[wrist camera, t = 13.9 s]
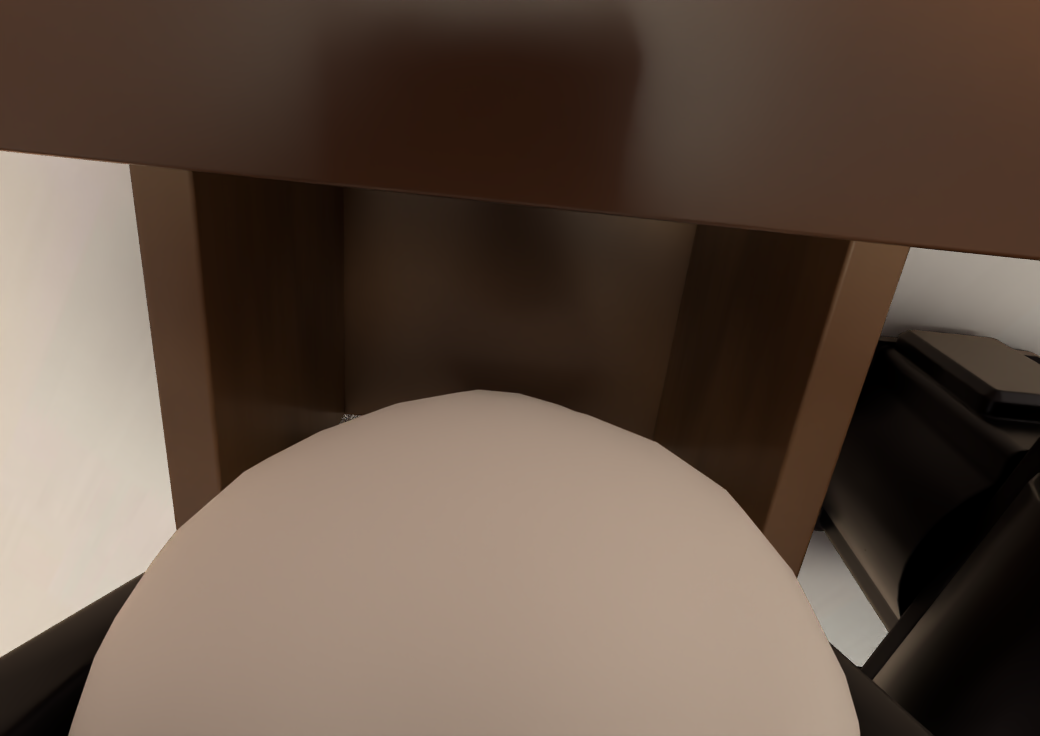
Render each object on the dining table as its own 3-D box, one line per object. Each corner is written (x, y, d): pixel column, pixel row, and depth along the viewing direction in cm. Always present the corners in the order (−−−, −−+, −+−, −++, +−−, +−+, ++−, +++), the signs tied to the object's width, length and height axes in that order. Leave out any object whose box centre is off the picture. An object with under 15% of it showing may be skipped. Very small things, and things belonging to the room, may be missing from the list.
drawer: (651, 619, 22) (718, 925, 14) (308, 588, 22) (182, 884, 14) (797, 3, 15) (1102, -75, 7) (287, -56, 15) (-4, -208, 7)
